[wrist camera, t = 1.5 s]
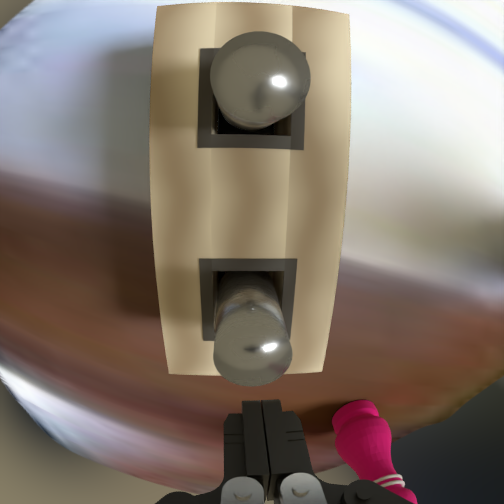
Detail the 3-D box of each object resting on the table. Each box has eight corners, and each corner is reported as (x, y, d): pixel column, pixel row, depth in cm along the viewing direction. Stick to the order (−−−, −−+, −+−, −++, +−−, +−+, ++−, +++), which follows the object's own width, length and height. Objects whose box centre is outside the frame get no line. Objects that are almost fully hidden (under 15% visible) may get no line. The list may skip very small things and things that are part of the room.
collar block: (318, 46, 22) (349, 13, 15) (302, 320, 31) (322, 372, 23) (177, 42, 22) (156, 5, 14) (182, 321, 30) (168, 374, 23)
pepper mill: (322, 433, 38) (356, 555, 19) (335, 398, 35) (384, 536, 16) (368, 428, 38) (412, 538, 19) (385, 394, 36) (445, 513, 17)
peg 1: (282, 73, 18) (310, 35, 10) (281, 132, 19) (309, 125, 12) (219, 71, 18) (212, 30, 10) (218, 130, 19) (208, 121, 11)
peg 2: (275, 264, 22) (296, 324, 15) (272, 314, 23) (289, 384, 16) (218, 264, 22) (211, 325, 14) (219, 314, 23) (214, 386, 16)
